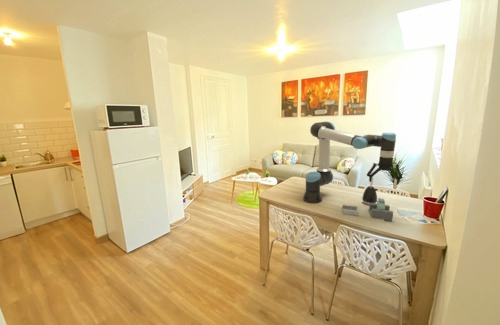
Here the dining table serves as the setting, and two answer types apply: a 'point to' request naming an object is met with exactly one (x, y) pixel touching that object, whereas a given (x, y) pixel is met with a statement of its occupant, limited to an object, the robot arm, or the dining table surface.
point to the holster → (350, 210)
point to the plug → (380, 204)
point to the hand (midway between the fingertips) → (382, 187)
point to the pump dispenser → (369, 195)
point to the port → (380, 212)
